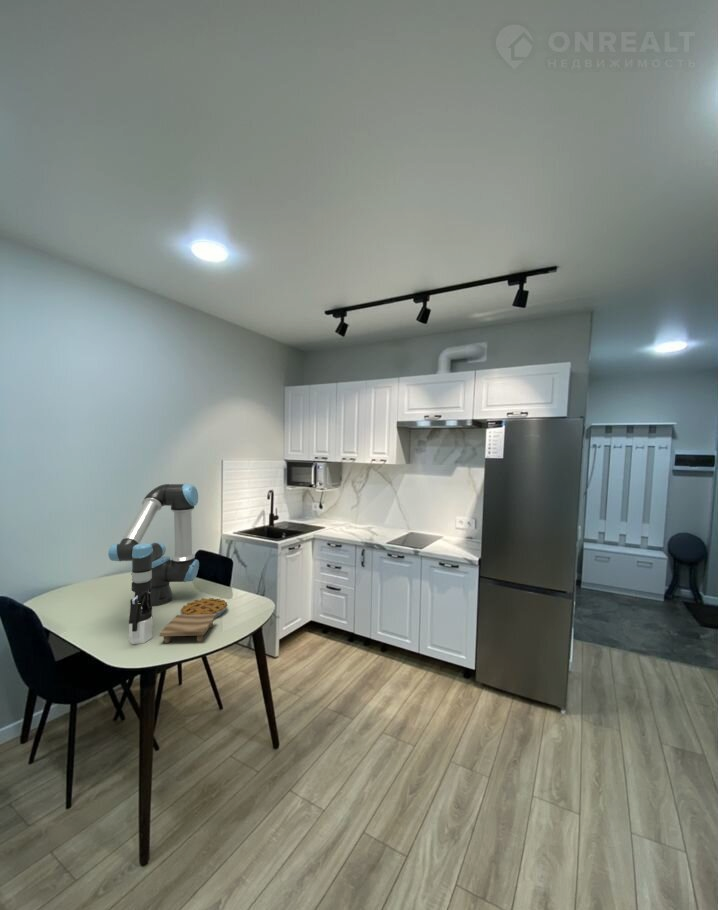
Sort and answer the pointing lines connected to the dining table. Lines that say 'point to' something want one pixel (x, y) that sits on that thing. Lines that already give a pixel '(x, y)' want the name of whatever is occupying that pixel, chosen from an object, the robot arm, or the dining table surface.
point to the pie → (205, 607)
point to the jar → (143, 627)
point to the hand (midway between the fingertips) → (140, 633)
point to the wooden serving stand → (188, 626)
